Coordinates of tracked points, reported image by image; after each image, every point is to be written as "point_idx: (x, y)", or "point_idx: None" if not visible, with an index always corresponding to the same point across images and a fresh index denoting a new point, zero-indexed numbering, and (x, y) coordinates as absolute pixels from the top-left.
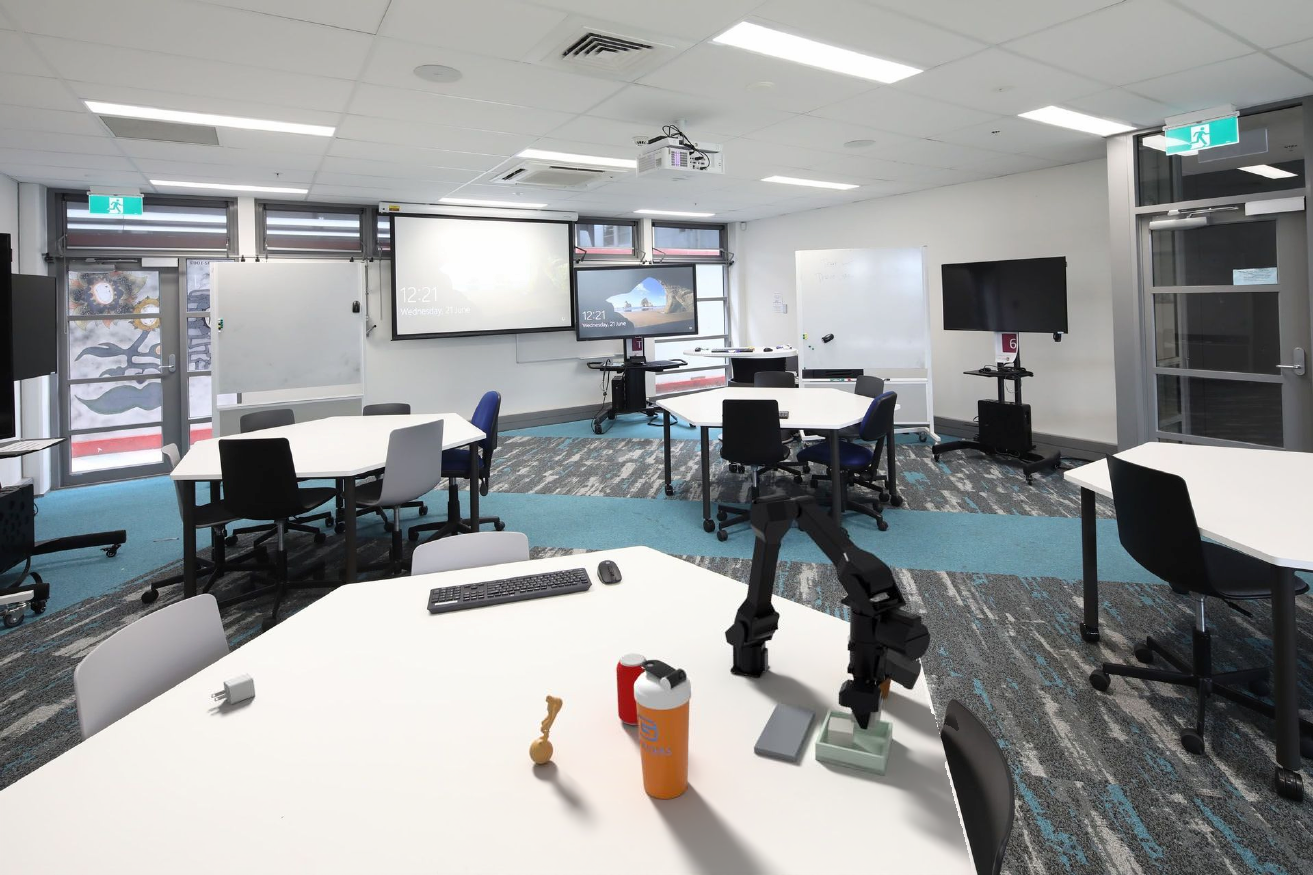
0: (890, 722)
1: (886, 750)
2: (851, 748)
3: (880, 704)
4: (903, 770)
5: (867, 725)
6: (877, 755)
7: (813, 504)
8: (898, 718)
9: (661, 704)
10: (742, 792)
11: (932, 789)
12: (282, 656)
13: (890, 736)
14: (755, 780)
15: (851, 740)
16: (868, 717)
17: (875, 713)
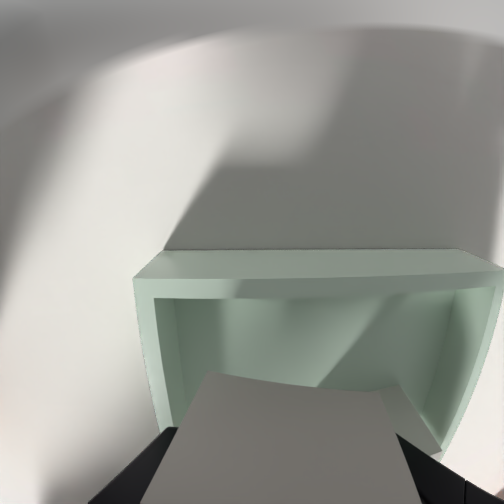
0: (141, 291)
1: (438, 270)
2: (411, 405)
3: (253, 492)
4: (410, 172)
5: (397, 434)
6: (494, 303)
7: None
8: (10, 244)
9: None
10: (495, 475)
11: (468, 70)
12: None
13: (247, 266)
14: (471, 482)
15: (426, 429)
16: (451, 474)
17: (406, 470)
